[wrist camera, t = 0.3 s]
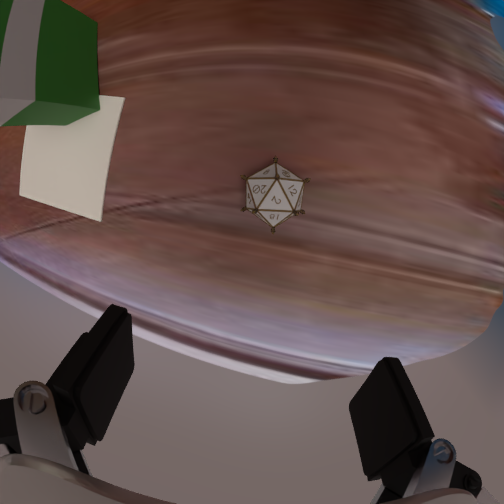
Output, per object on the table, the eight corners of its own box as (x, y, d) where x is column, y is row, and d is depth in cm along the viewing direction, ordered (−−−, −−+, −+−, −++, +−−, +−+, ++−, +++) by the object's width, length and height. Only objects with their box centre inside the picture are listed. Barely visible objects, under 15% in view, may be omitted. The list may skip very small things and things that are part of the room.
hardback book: (64, 41, 27) (-30, 11, 4) (97, 22, 26) (6, -26, 4) (65, 125, 33) (-52, 131, 10) (100, 110, 32) (-24, 97, 10)
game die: (263, 196, 41) (222, 229, 35) (266, 144, 36) (219, 169, 29) (317, 216, 38) (283, 257, 32) (327, 161, 32) (291, 193, 26)
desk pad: (35, 93, 30) (33, 93, 30) (125, 97, 32) (124, 97, 32) (20, 194, 38) (19, 195, 37) (101, 221, 40) (100, 221, 39)
